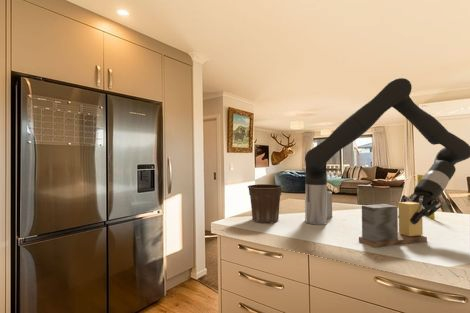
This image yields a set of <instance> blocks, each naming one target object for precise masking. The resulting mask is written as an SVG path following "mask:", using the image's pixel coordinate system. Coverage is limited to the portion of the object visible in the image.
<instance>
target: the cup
mask: <svg viewBox="0 0 470 313" xmlns="http://www.w3.org/2000/svg"><path fill="white" fill-rule="evenodd" d="M330 218H333V192H332V191H330V190H327V219H330Z"/></svg>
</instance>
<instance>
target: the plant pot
mask: <svg viewBox="0 0 470 313" xmlns="http://www.w3.org/2000/svg"><path fill="white" fill-rule="evenodd" d="M247 188H248V194H249V199H250V206H251V219H252V221H253V222H255V223H258V224H267V223H270V224H273V223H277V222H278V221H279V215H280V202H281V196H282V188H283V185H280V184H268V183H267V184H265V183H264V184H252V185H251V184H250V185H248V186H247Z"/></svg>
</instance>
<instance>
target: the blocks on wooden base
mask: <svg viewBox="0 0 470 313" xmlns="http://www.w3.org/2000/svg"><path fill="white" fill-rule="evenodd" d="M398 215H399V205H398V206H397V205H393V204H392V205H391V204H387V203H380V204H379V203H378V204H366V205H364V204H363V205H361V236H358V242H359V243H362V244H365V245H367V246H369V247H371V248H374V249H379V248H386V247H393V246H401V245H410V244H417V243H425V242H428V236H425V235H417V236H406V235H403V234H400V233H399V218H398Z"/></svg>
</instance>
